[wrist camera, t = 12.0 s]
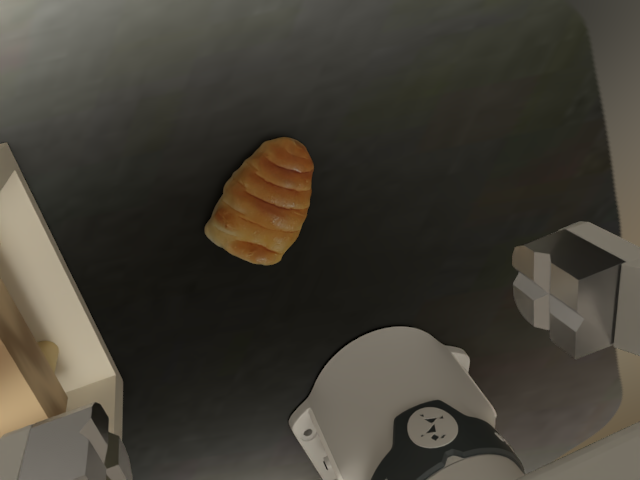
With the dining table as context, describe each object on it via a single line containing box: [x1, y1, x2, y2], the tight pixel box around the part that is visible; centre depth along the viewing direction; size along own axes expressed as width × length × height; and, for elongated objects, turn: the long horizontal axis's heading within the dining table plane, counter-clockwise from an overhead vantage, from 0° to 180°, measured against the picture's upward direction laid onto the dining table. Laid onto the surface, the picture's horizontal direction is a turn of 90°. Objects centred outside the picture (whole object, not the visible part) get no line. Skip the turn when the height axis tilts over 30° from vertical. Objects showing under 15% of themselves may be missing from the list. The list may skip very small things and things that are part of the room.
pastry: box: [205, 137, 314, 265], centre depth 37 cm, size 9×7×4 cm
